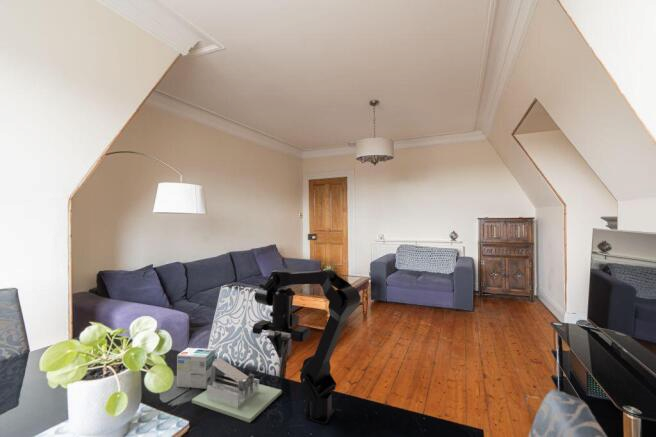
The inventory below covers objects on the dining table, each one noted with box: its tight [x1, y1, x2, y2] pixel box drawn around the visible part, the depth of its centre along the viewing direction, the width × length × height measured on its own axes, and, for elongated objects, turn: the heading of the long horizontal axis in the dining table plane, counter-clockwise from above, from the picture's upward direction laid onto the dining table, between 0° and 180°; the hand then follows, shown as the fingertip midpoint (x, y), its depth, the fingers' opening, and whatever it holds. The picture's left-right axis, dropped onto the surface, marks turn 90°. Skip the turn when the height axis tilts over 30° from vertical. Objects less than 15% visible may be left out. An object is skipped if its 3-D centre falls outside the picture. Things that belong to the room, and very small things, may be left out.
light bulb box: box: [176, 347, 216, 390], centre depth 102 cm, size 11×7×11 cm, turn 84°
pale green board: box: [191, 383, 283, 423], centre depth 94 cm, size 22×16×1 cm
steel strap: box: [212, 357, 252, 387], centre depth 94 cm, size 14×3×2 cm, turn 66°
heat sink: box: [206, 366, 260, 409], centre depth 94 cm, size 13×10×8 cm
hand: (280, 357), depth 96 cm, fingers closed
